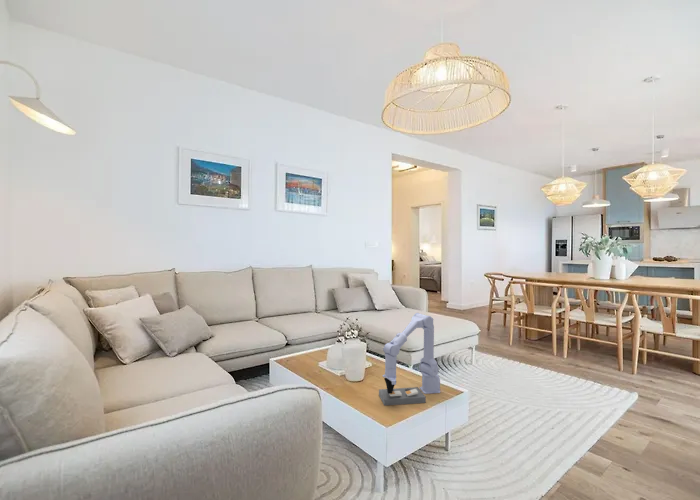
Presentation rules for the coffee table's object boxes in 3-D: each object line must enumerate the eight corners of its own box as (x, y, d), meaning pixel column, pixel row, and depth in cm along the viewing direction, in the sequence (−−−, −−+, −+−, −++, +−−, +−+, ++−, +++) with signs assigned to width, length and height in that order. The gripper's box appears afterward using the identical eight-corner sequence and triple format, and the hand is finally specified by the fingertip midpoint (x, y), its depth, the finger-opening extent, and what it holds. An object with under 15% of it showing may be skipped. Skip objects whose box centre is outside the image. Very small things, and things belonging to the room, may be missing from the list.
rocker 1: (399, 392, 178) (399, 390, 178) (401, 395, 175) (401, 393, 175) (388, 393, 177) (388, 391, 177) (390, 396, 174) (390, 394, 174)
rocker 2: (416, 390, 180) (415, 388, 180) (418, 393, 176) (417, 391, 176) (405, 393, 179) (404, 391, 179) (407, 396, 175) (407, 394, 175)
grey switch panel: (417, 392, 187) (417, 386, 187) (425, 402, 175) (425, 396, 175) (378, 394, 184) (378, 389, 184) (384, 405, 172) (384, 399, 172)
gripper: (379, 362, 182) (379, 387, 182) (386, 372, 168) (385, 399, 168) (392, 361, 183) (391, 386, 183) (400, 371, 169) (399, 399, 169)
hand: (389, 392), depth 176 cm, fingers closed, pressing on rocker 1
